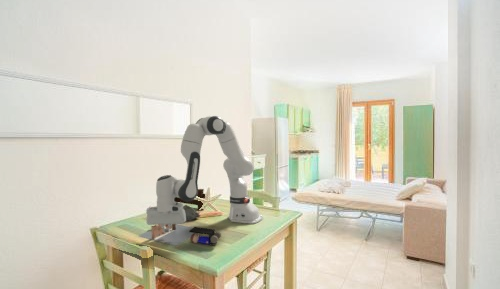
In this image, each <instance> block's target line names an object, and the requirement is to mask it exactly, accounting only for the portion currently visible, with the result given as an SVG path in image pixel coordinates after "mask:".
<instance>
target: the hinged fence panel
mask: <svg viewBox="0 0 500 289" xmlns="http://www.w3.org/2000/svg"><path fill="white" fill-rule="evenodd" d="M166 225H168V224H165V227H166ZM150 226H151V227H150V228H151V230H152V239H154V238H156V237H157V235H158V234H159V235H162V233H166V232H164V229H163V228H162V227H161V224H160V225H150ZM157 228H159V230H158V231H157ZM166 228H169V226H167V227H166ZM170 229H172V226H171V228H170ZM170 231H171V230H170Z"/></svg>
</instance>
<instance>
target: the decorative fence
mask: <svg viewBox="0 0 500 289" xmlns="http://www.w3.org/2000/svg"><path fill="white" fill-rule="evenodd" d="M204 191H205V190H204V188H198V194H197V196H198V197H200V198H203V199H206V193H204ZM174 201H175V202H178V203H182V204H185V205H194V206H197V211H200V210H199V209H200V208H201V207H202V205H203V203H202V202H201V201H198V199H196V198H195V199H193V200H192V201H189V202H185V201H183V200H182V199H180V198H178V197H175V198H174Z"/></svg>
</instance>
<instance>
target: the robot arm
mask: <svg viewBox="0 0 500 289" xmlns="http://www.w3.org/2000/svg"><path fill="white" fill-rule="evenodd" d="M195 122H196V123H190V124H188V125H187V128H186V129H185V131H184V134H183V136H182V140H181V145H180V153H181V155H182V156H183V158H184V159H185V160H186V163H187V165H186V166H187V167H186V172H185V173H186V174H185V179H180V178H176V177H174V176H172V175H171V174H169V175H168V174H167V175H166V174H165V175H162V176H160V177H159V178H157V179H156V186H155V192H156V194H155V195H156V197H157V198H156V206H149V207H148V208H146V210H145V211H146V213H145V214H146V224H147V225H148V226H155V225H160V224H161V227H162V228H163V229H164V232H170V228H171V226H172V224H178V225H184V224H185V222H187V220H186V214H185V210H184V209H183V206H184V203H179V202H175V201H174V198H175V197H178V198H180V199H182V200H183V201H185V202H189V201H192V200H193V199H195V200H196V199H197V198H196V196H197V194H198V189H199V184H198V179H199V173H200V166H201V151H202V150H201V149H202V145H203V140H204V138H205V137H206V136H214V135H215V136H216V137H217V140H218V142H219V145H220V148H221V151H222V153H223V154H224V155H225V156H226V158H225V160H224V161H223V169H224V171H225V173H226V174H227V177H228V182H229V191H230V192H229V193H230V194H229V206H230V207H229V214H228V220H230V222H232V223H241V224H242V223H243V224H257V223H259V222H261V221H262V220H263V219H264V216H263V215H262V214H260V209H259V208H258V206H256V205H255V204H254V203H253V202H251V199H252V196H250V197H249V195H248V183H247V182H246V180H245V178H244V177H247V176H248V177H249V176H251V175H252V174H253V173H254V172H253V171H254V170H255V166H254V163H253V162H252V161H251V160H250V159H249V158H248V157H247V155H246V154H245V152H244V150H243V149H242V148H241V146H240V144H239V141H238V139H237V136H236V133H235V130H234V129H233V127H232V126H231V124H230V122H228V121H224V119H222V117H220V116H218V115H212V116H210V115H209V116H206V117H201V118H199V119H198V120H197V121H195ZM165 224H168V226H169V228H166V227H165Z"/></svg>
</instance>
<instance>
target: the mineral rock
mask: <svg viewBox="0 0 500 289" xmlns="http://www.w3.org/2000/svg"><path fill="white" fill-rule="evenodd" d="M183 209H184V210H185V214H186V221H192V220H195V219H197V218H200V217H201V214H200V213H199V212H197V211H196V210H195V209H194V207H192V206H190V205H188V204H185V205H184V204H183Z"/></svg>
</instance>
